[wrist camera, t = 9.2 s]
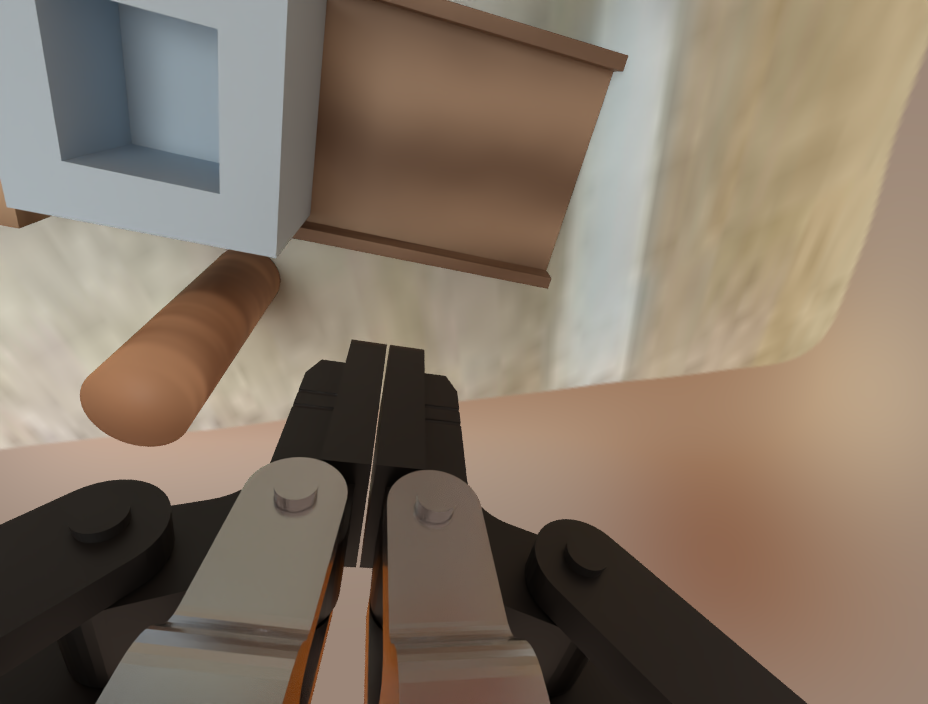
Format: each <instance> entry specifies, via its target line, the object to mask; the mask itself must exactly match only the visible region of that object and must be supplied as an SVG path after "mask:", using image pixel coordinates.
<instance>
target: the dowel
mask: <svg viewBox="0 0 928 704" xmlns="http://www.w3.org/2000/svg"><path fill="white" fill-rule="evenodd" d="M279 287H280V275H279V272H278V270H277V268H276V266H275V264H274V263H273V262H272V261H271V260H270V259H269V258H268V257H267V256H262V255H256V254H251V253H246V252H241V251H235V250H228V251H226V252H224V253H223V254H222V255H221V256H220V257H219V258H218V259H217V260H216V261H214V262H213V263H212V264H211V265H210V266H209V267H208V268H207V269H206V270H205V271H203V272H202V273H201V274H200V275H199V276H198V277H197V278H196V279H195V280H194V281H192V282H191V283H190V284H189V285H188V286H187V287H186V288H185V289H184V290H183V291H181V292H180V293H179V294H178V295H177V296H176V297H175V298H174V299H173V300H172V301H170V302H169V303H168V304H167V305H166V306H165V307H164V308H163V309H162V310H161V311H160V312H158V313H157V314H156V315H155V316H154V317H153V318H152V319H151V320H150V321H149V322H147V323H146V324H145V325H144V326H143V327H142V328H141V329H140V330H139V331H138V332H136V333H135V334H134V335H133V336H132V337H131V338H130V339H129V340H128V341H127V342H125V343H124V344H123V345H122V346H121V347H120V348H119V349H118V350H117V351H116V352H114V353H113V354H112V355H111V356H110V357H109V358H108V359H107V360H106V361H105V362H103V363H102V364H101V365H100V366H99V367H98V368H97V369H96V370H95V371H94V372H93V373H91V374H90V375H89V376H88V377H87V378H86V380H85V381H84V383H83V384H82V387H81V390H80V401H81V404H82V407H83V410H84V412H85V413H86V415H87V416H88V418H89V419H90V420H91V421H92V422H93V423H94V424H95V425H96V426H97V427H98V428H99V429H100V430H102V431H103V432H105V433H106V434H108V435H109V436H111V437H113V438H115V439H118V440H120V441H122V442H126V443H129V444H133V445H138V446H148V447H149V446H150V447H151V446H161V445H166V444H169V443H172V442H174V441H176V440H178V439H179V438H180V437H182V436H183V435H184V434H185V433H186V431H187V430H188V428H189V427H190V425H191V424H192V422H193V420H194V419H195V417H196V416H197V414H198V413H199V411H200V410H201V408H202V407H203V405H204V404H205V402H206V401H207V399H208V398H209V396H210V395H211V393H212V392H213V390H214V388H215V387H216V385H217V384H218V382H219V381H220V379H221V378H222V376H223V375H224V373H225V372H226V370H227V369H228V367H229V366H230V364H231V363H232V361H233V360H234V358H235V356H236V355H237V353H238V352H239V350H240V349H241V347H242V346H243V344H244V343H245V341H246V340H247V338H248V337H249V335H250V334H251V332H252V331H253V329H254V327H255V326H256V324H257V323H258V321H259V320H260V318H261V317H262V315H263V314H264V312H265V311H266V309H267V308H268V306H269V305H270V303H271V302H272V300H273V299H274V297H275V295H276V294H277V292H278V290H279Z"/></svg>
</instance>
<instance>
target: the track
mask: <svg viewBox="0 0 928 704" xmlns="http://www.w3.org/2000/svg"><path fill="white" fill-rule="evenodd" d="M627 58H628V55H625V54H621V53H618V52H615V51H611V50H608V49H605V48H602V47H598V46H595V45H592V44H588V43H585V42H582V41H579V40H575V39H572V38H569V37H565V36H562V35H559V34H556V33H552V32H549V31H546V30H542V29H539V28H536V27H533V26H529V25H526V24H523V23H519V22H516V21H513V20H510V19H506V18H503V17H500V16H496V15H493V14H490V13H487V12H483V11H480V10H477V9H473V8H470V7H467V6H464V5H460V4H457V3H454V2H450V1H447V0H327V4H326V17H325V30H324V43H323V56H322V69H321V82H320V94H319V107H318V120H317V133H316V146H315V159H314V171H313V184H312V197H311V210H310V216H309V217H308V218H307V219H306V221H305V222H304V223H303V225H302V226H301V227H300V228H299V230H298V231H297V232H296V233H295V235H294V236H293V237H292V238H295V239H300V240H305V241H310V242H315V243H321V244H326V245H331V246H336V247H341V248H346V249H351V250H356V251H361V252H366V253H371V254H376V255H381V256H386V257H391V258H396V259H401V260H406V261H411V262H416V263H421V264H426V265H431V266H436V267H441V268H446V269H451V270H457V271H462V272H467V273H472V274H477V275H482V276H487V277H492V278H497V279H502V280H507V281H512V282H517V283H522V284H527V285H532V286H537V287H542V288H547V289H548V287H549V284H550V281H551V277H550V276H549V274H548V272H547V271H546V270H547V267H548V264H549V261H550V258H551V255H552V252H553V249H554V246H555V243H556V240H557V237H558V234H559V231H560V228H561V225H562V222H563V219H564V216H565V213H566V210H567V207H568V204H569V202H570V199H571V196H572V193H573V190H574V187H575V184H576V181H577V178H578V175H579V172H580V169H581V166H582V163H583V160H584V157H585V154H586V151H587V148H588V145H589V142H590V139H591V136H592V133H593V130H594V127H595V125H596V122H597V119H598V116H599V113H600V110H601V107H602V104H603V101H604V98H605V95H606V92H607V89H608V86H609V83H610V80H611V77H612V74H613V72H616V71H623V70H624V67H625V64H626V61H627ZM50 216H51V215H46V214H40V213H35V212H30V211H25V210H19V209H14V208H9V207H7V206H6V201H5V197H4V193H3V188H2V184H1V180H0V225H3V226H9V227H14V228H22V227H24V226H27V225H29V224H32V223H35V222H37V221H40V220H42V219H45V218H48V217H50Z"/></svg>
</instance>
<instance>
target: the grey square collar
mask: <svg viewBox="0 0 928 704" xmlns="http://www.w3.org/2000/svg"><path fill="white" fill-rule="evenodd" d="M326 4H327V0H0V180H1V184H2V188H3V193H4V197H5V201H6V206H7V207H9V208H14V209H19V210H25V211H30V212H35V213H40V214H46V215H51V216H56V217H61V218H67V219H72V220H77V221H83V222H88V223H93V224H98V225H104V226H109V227H114V228H119V229H125V230H130V231H135V232H140V233H146V234H151V235H156V236H162V237H167V238H172V239H177V240H183V241H188V242H193V243H198V244H204V245H209V246H214V247H219V248H225V249H230V250H235V251H241V252H246V253H251V254H256V255H262V256H267V257H272V258H277V256H278V255H279V254H280V253H281V251H282V250H283V249H284V247H285V246H286V245H287V244H288V242H289V241H290V240H291V239H292V237H293V236H294V235H295V233H296V232H297V231H298V230H299V228H300V227H301V226H302V225H303V223H304V222H305V221H306V219H307V218H308V217H309V216H310V210H311V197H312V184H313V171H314V159H315V146H316V133H317V120H318V107H319V94H320V82H321V69H322V56H323V43H324V30H325V17H326Z"/></svg>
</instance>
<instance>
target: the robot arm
mask: <svg viewBox="0 0 928 704" xmlns="http://www.w3.org/2000/svg"><path fill="white" fill-rule="evenodd" d="M386 348H387V345H386V344H379V343H372V342H365V341H358V340H352V341H351V344H350V348H349V352H348V356H347V359H346V363H343V362H336V361H328V360H321V361H319V362H318V363H317V364H316V365H314V366H313V367H312V368H310V369H309V370H308V371H307V372H306V373H305V375H304V378H303V380H302V383H301V385H300V388H299V392H298V393H297V396H296V398H295V401H294V404H293V407H292V408H291V411H290V414H289V416H288V419H287V421H286V424H285V427H284V429H283V432H282V434H281V437H280V439H279V442H278V444H277V447H276V449H275V452H274V455H273V457H272V460H271V462H270V464H267V465H266V466H264V467H262V468H260V469H259V470H258V471H256V472H255V473H254V474H253V475H252V476H251V477H250V478H249V479H248V481H247V482H246V483H245V485H244V487H243V489H242V490H240V491H237V492H235V493H233V494H230V495H227V496H224V497H220V498H215V499H211V500H204V501H198V502H192V503H186V504H179V505H173V506H171V505H170V501H169V499H168V497H167V496H166V494H165V493H164V492H163V491H162V490H160V489H159V488H158V487H156V486H154V485H152V484H150V483H146V482H143V481H137V480H112V481H106V482H101V483H96V484H93V485H89V486H86V487H83V488H81V489H78V490H76V491H73V492H71V493H69V494H67V495H64V496H62V497H60V498H58V499H56V500H54V501H51V502H49V503H47V504H45V505H42V506H40V507H38V508H36V509H34V510H32V511H29V512H27V513H25V514H23V515H21V516H18V517H16V518H14V519H12V520H10V521H7V522H5V523H3V524H1V525H0V704H311V700H312V696H313V692H314V688H315V684H316V680H317V675H318V672H319V668H320V663H321V660H322V656H323V651H324V647H325V643H326V639H327V635H328V631H329V627H330V622H331V618H332V614H333V608H334V607H335V605H336V602H337V600H338V597H339V593H340V587H341V581H342V575H343V568H344V567H356V563H357V556H358V549H359V543H360V536H361V530H362V523H363V517H364V510H365V503H366V497H367V489H368V484H369V477H370V471H371V464H372V456H373V448H374V441H375V433H376V425H377V417H378V410H379V402H380V394H381V386H382V379H383V371H384V363H385V355H386ZM360 567H363V568H373V569H372V580H371V589H370V596H369V602H368V607H367V614H366V639H365V641H366V642H365V679H364V704H807V703H806V702H805V701H804V700H802V699H801V698H800V697H799V696H798V695H796V694H795V693H794V692H793V691H792V690H791V689H789V688H788V687H787V686H786V685H785V684H783V683H782V682H781V681H780V680H779V679H777V678H776V677H775V676H774V675H773V674H771V673H770V672H769V671H768V670H767V669H766V668H764V667H763V666H762V665H761V664H760V663H758V662H757V661H756V660H755V659H754V658H753V657H751V656H750V655H749V654H748V653H747V652H745V651H744V650H743V649H742V648H741V647H739V646H738V645H737V644H736V643H735V642H734V641H732V640H731V639H730V638H729V637H728V636H726V635H725V634H724V633H723V632H722V631H721V630H719V629H718V628H717V627H716V626H715V625H713V624H712V623H711V622H710V621H709V620H707V619H706V618H705V617H704V616H703V615H702V614H700V613H699V612H698V611H697V610H696V609H694V608H693V607H692V606H691V605H690V604H688V603H687V602H686V601H685V600H684V599H683V598H681V597H680V596H679V595H678V594H677V593H675V592H674V591H673V590H672V589H671V588H669V587H668V586H667V585H666V584H665V583H664V582H662V581H661V580H660V579H659V578H658V577H656V576H655V575H654V574H653V573H652V572H651V571H649V570H648V569H647V568H646V567H645V566H643V565H642V564H641V563H640V562H639V561H638V560H636V559H635V558H634V557H633V556H631V555H630V554H629V553H628V552H627V551H626V550H624V549H623V548H622V547H621V546H619V544H617V543H616V542H615V541H614V540H613V539H611V538H610V537H609V536H608V535H606V534H605V533H604V532H602V531H601V530H599V529H597V528H596V527H594V526H591V525H589V524H587V523H584V522H581V521H577V520H569V519H562V520H556V521H553V522H550V523H549V524H547V525H545V526H544V527H543V528H542V529H541V530H540V532H539V533H538V535H537V534H534V533H532V532H529V531H526V530H524V529H521V528H518V527H515V526H513V525H510V524H507V523H505V522H502V521H501V520H499V519H497V518H495V517H494V516H492V515H491V514H489V513H488V512H487V511H485V510H484V509H483V508H482V507H481V504H480V501H479V499H478V497H477V495H476V494H475V492H474V491H473V490H472V489H471V488H470V486H468V483H467V476H466V467H465V458H464V449H463V441H462V431H461V426H460V413H459V404H458V395H457V391H456V390H455V388H454V387H453V385H452V384H451V383H450V381H449V380H448V379H447V377H446V376H441V375H433V374H426V373H425V366H424V350H422V349H415V348H408V347H401V346H394V345H390V348H389V354H388V360H387V367H386V373H385V380H384V386H383V393H382V400H381V406H380V413H379V421H378V427H377V435H376V443H375V452H374V459H373V467H372V475H371V483H370V491H369V499H368V507H367V515H366V523H365V530H364V538H363V546H362V554H361V562H360Z"/></svg>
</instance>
